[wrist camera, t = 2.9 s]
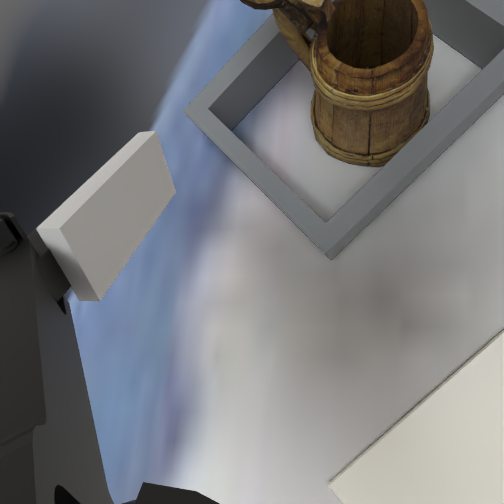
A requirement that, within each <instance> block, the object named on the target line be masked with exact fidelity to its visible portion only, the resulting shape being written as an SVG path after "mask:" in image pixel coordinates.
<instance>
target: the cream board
mask: <svg viewBox="0 0 504 504" xmlns="http://www.w3.org/2000/svg"><path fill="white" fill-rule="evenodd" d="M328 487H329V488H330V489H331V490H332V491H333V493H334V494H335V495H336V496H337V497H338V499H339V500H340V501H341V502H342V504H504V330H503V331H502V332H500V333H499V334H498V335H497V336H496V337H495V338H494V339H492V340H491V341H490V342H489V343H488V344H487V345H486V346H484V347H483V348H482V349H481V350H480V351H479V352H478V353H476V354H475V355H474V356H473V357H472V358H471V359H470V360H468V361H467V362H466V363H465V364H464V365H463V366H462V367H460V368H459V369H458V370H457V371H456V372H455V373H454V374H452V375H451V376H450V377H449V378H448V379H447V380H446V381H444V382H443V383H442V384H441V385H440V386H439V387H438V388H436V389H435V390H434V391H433V392H432V393H431V394H430V395H428V396H427V397H426V398H425V399H424V400H423V401H422V402H420V403H419V404H418V405H417V406H416V407H415V408H414V409H412V410H411V411H410V412H409V413H408V414H407V415H406V416H404V417H403V418H402V419H401V420H400V421H399V422H398V423H396V424H395V425H394V426H393V427H392V428H391V429H390V430H389V431H387V432H386V433H385V434H384V435H383V436H382V437H381V438H379V439H378V440H377V441H376V442H375V443H374V444H373V445H371V446H370V447H369V448H368V449H367V450H366V451H365V452H363V453H362V454H361V455H360V456H359V457H358V458H357V459H355V460H354V461H353V462H352V463H351V464H350V465H349V466H347V467H346V468H345V469H344V470H343V471H342V472H341V473H339V474H338V475H337V476H336V477H335V478H334V479H333V480H331V481H330V482H329V485H328Z"/></svg>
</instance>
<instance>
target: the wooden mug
mask: <svg viewBox="0 0 504 504" xmlns="http://www.w3.org/2000/svg"><path fill="white" fill-rule="evenodd" d="M240 1H241V2H242V3H244V4H246V5H248V6H250V7H252V8H254V9H262V10H267V9H273V14H274V18H275V22H276V24H277V26H278V28H279V30H280V32H281V34H282V36H283V37H284V39H285V40H286V41H287V43H288V44H289V46H290V47H291V48H292V50H293V51H294V52H295V54H296V55H297V56H298V57H299V58H300V60H301V61H302V62H303V63H304V64H305V66H306V67H307V68H308V70H309V71H310V72H311V75H312V79H313V82H314V86H315V88H316V90H315V92H314V95H313V98H312V102H311V120H312V124H313V128H314V133H315V137H316V140H317V141H318V142H319V144H320V145H321V146H322V147H323V149H324V150H325V151H326V152H327V154H328V155H331V156H333V157H335V158H337V159H339V160H341V161H344V162H347V163H349V164H355V165H362V166H375V167H378V166H381V165H385V164H387V163H388V162H389V161H390V160H391V159H392V158H393V157H394V156H395V155H396V154H397V153H398V152H399V151H400V150H401V149H402V148H403V147H404V146H405V145H406V144H407V143H408V142H409V141H410V140H411V139H412V138H413V137H414V136H415V135H416V134H417V133H418V132H419V131H420V130H421V129H422V128H423V127H424V126H425V125H426V124H427V122H428V119H429V115H430V100H429V91H428V88H427V71H428V69H429V67H430V63H431V59H432V55H433V50H434V46H433V36H432V26H431V23H430V20H429V18H428V11H427V8H426V6H425V3H424V1H423V0H334V1H333V2H331V1H330V0H240ZM309 28H310V29H312V30H314V31H315V32H314V35H313V39H311V38H310V37H309V36H308V35H307V34H306V31H307V30H308V29H309Z"/></svg>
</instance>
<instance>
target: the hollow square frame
mask: <svg viewBox="0 0 504 504" xmlns="http://www.w3.org/2000/svg"><path fill="white" fill-rule="evenodd" d="M330 1H331V2H333V1H334V0H330ZM423 1H424V3H425V6H426V8H427V11H428V18H429V20H430V23H431V26H432V33H433V34H434V35H436V36H437V37H439V38H440V39H441V40H443V41H444V42H446V43H447V44H448V45H450V46H451V47H453V48H454V49H455V50H457V51H458V52H460V53H461V54H462V55H464V56H465V57H467V58H468V59H469V60H471V61H472V62H474V63H475V64H476V65H478V66H479V67H481V68H482V69H483V70H482V71H481V72H480V73H478V74H477V75H476V76H475V77H474V78H473V79H472V80H471V81H470V82H469V83H468V84H467V85H466V86H465V87H464V88H463V89H462V90H461V91H460V92H459V93H458V94H457V95H456V96H455V97H454V98H453V99H452V100H451V101H450V102H449V103H448V104H447V105H446V106H445V107H444V108H443V109H442V110H441V111H440V112H439V113H438V114H437V115H436V116H435V117H434V118H433V119H432V120H431V121H429V122H428V123H427V124H426V125H425V126H424V127H423V128H422V129H421V130H420V131H419V132H418V133H417V134H416V135H415V136H414V137H413V138H412V139H411V140H410V141H409V142H408V143H407V144H406V145H405V146H404V147H403V148H402V149H401V150H400V151H399V152H398V153H397V154H396V155H395V156H394V157H393V158H392V159H391V160H390V161H389V162H388V163H387V164H386V165H385V166H384V167H383V168H382V169H381V170H379V171H378V172H377V173H376V174H375V175H374V176H373V177H372V178H371V179H370V180H369V181H368V182H367V183H366V184H365V185H364V186H363V187H362V188H361V189H360V190H359V191H358V192H357V193H356V194H355V195H354V196H353V197H352V198H351V199H350V200H349V201H348V202H347V203H346V204H345V205H344V206H343V207H342V208H341V209H340V210H339V211H338V212H337V213H336V214H335V215H334V216H333V217H332V218H330V219H329V220H328V221H327V222H326V223H325V222H324V221H323V220H322V219H321V218H320V217H319V216H318V215H317V214H316V213H315V212H314V211H313V210H312V209H311V208H310V207H309V206H308V205H307V204H306V203H305V202H304V201H303V200H302V199H301V198H300V197H299V196H297V195H296V194H295V193H294V192H293V191H292V190H291V189H290V188H289V187H288V186H287V185H286V184H285V183H284V182H283V181H282V180H281V179H280V178H279V177H278V176H277V175H276V174H275V173H274V172H273V171H272V170H271V169H270V168H269V167H267V166H266V165H265V164H264V163H263V162H262V161H261V160H260V159H259V158H258V157H257V156H256V155H255V154H254V153H253V152H252V151H251V150H250V149H249V148H248V147H247V146H246V145H245V144H244V143H243V142H242V141H241V140H240V139H239V138H237V137H236V136H235V135H234V134H233V133H232V132H231V131H232V130H233V129H234V128H235V127H236V126H237V125H238V124H239V122H240V121H241V120H242V119H243V118H244V117H245V116H246V115H247V114H248V113H249V112H250V111H251V110H252V109H253V108H254V107H255V106H256V105H257V103H258V102H259V101H260V100H261V99H262V98H263V97H264V96H265V95H266V94H267V93H268V92H269V91H270V90H271V89H272V88H273V87H274V86H275V84H276V83H277V82H278V81H279V80H280V79H281V78H282V77H283V76H284V75H285V74H286V73H287V72H288V71H289V70H290V69H291V68H292V67H293V65H294V64H295V63H296V62H297V61H298V60H299V59H300V58H299V57H298V56H297V55H296V54H295V52H294V51H293V50H292V48H291V47H290V46H289V44H288V43H287V41H286V40H285V39H284V37H283V36H282V34H281V32H280V30H279V28H278V26H277V24H276V22H275V18H274V14H272V15H271V16H270V17H269V18H268V19H267V20H266V21H265V22H264V24H263V25H262V26H261V27H260V28H259V29H258V30H257V31H256V32H255V33H254V34H253V36H252V37H251V38H250V39H249V40H248V41H247V42H246V43H245V44H244V45H243V46H242V47H241V49H240V50H239V51H238V52H237V53H236V54H235V55H234V56H233V57H232V58H231V59H230V60H229V62H228V63H227V64H226V65H225V66H224V67H223V68H222V69H221V70H220V71H219V72H218V73H217V75H216V76H215V77H214V78H213V79H212V80H211V81H210V82H209V83H208V84H207V85H206V87H205V88H204V89H203V90H202V91H201V92H200V93H199V94H198V95H197V96H196V97H195V98H194V100H193V101H192V102H191V103H190V104H189V105H188V106H187V107H186V108H185V109H184V110H183V112H184V113H185V114H186V115H187V116H188V117H189V118H190V119H191V120H192V121H193V122H194V123H195V125H196V126H197V127H198V128H199V129H200V130H201V131H202V132H203V133H204V134H205V135H206V136H207V137H208V138H209V139H210V140H211V141H212V142H213V143H214V144H215V145H216V146H217V147H218V148H219V149H220V150H221V151H222V152H223V153H224V154H225V155H226V156H227V157H228V158H229V159H230V160H231V161H232V162H233V163H234V164H235V165H236V166H237V167H238V168H239V169H240V170H241V171H242V172H243V173H244V174H245V175H246V176H247V177H248V178H249V179H250V180H251V181H252V182H253V183H254V184H255V185H256V186H257V187H258V188H259V189H260V190H261V191H262V192H263V193H264V194H265V195H266V196H267V197H268V198H269V199H270V200H271V201H272V202H273V203H274V204H275V205H276V206H277V207H278V208H279V209H280V210H281V211H282V212H283V213H284V214H285V215H286V216H287V217H288V218H289V219H290V220H291V221H292V222H293V223H294V224H295V225H296V226H297V227H298V228H299V229H300V230H301V231H302V232H303V233H304V234H305V235H306V236H307V237H308V238H309V239H310V240H311V241H312V242H313V243H314V244H315V245H316V246H317V247H318V248H319V249H320V250H321V251H322V252H323V253H324V254H325V255H326V256H327V257H328V258H329V259H330V260H332V259H333V258H334V257H335V256H336V255H337V254H338V253H339V252H340V251H341V250H342V249H343V248H344V247H345V246H347V245H348V244H349V243H350V242H351V241H352V240H353V239H354V238H355V237H356V236H357V235H358V234H359V233H360V232H361V231H362V230H363V229H364V228H365V227H366V226H367V225H368V224H369V223H370V222H371V221H372V220H374V219H375V218H376V217H377V216H378V215H379V214H380V213H381V212H382V211H383V210H384V209H385V208H386V207H387V206H388V205H389V204H390V203H391V202H392V201H393V200H394V199H395V198H396V197H397V196H398V195H399V194H401V193H402V192H403V191H404V190H405V189H406V188H407V187H408V186H409V185H410V184H411V183H412V182H413V181H414V180H415V179H416V178H417V177H418V176H419V175H420V174H421V173H422V172H423V171H424V170H425V169H426V168H428V167H429V166H430V165H431V164H432V163H433V162H434V161H435V160H436V159H437V158H438V157H439V156H440V155H441V154H442V153H443V152H444V151H445V150H446V149H447V148H448V147H449V146H450V145H451V144H452V143H453V142H455V141H456V140H457V139H458V138H459V137H460V136H461V135H462V134H463V133H464V132H465V131H466V130H467V129H468V128H469V127H470V126H471V125H472V124H473V123H474V122H475V121H476V120H477V119H478V118H479V117H480V116H482V115H483V114H484V113H485V112H486V111H487V110H488V109H489V108H490V107H491V106H492V105H493V104H494V103H495V102H496V101H497V100H498V99H499V98H500V97H501V96H502V95H503V94H504V0H423ZM314 32H315V31H314V30H312V29H310V28H309V29H308V30H307V31H306V34H307V35H308V36H309V37H310V38H311V39H313V35H314Z"/></svg>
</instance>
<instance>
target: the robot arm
mask: <svg viewBox="0 0 504 504" xmlns="http://www.w3.org/2000/svg"><path fill="white" fill-rule="evenodd" d="M175 193H176V190H175V187H174V184H173V181H172V178H171V175H170V172H169V169H168V166H167V162H166V159H165V156H164V153H163V150H162V147H161V144H160V141H159V138H158V135H157V132H156V131H149V132H139V133H138V134H137V135H136V136H135V137H134V138H133V139H131V140H130V141H129V142H128V143H127V144H126V145H125V146H124V147H123V148H122V149H121V150H120V151H119V152H118V153H117V154H115V155H114V156H113V157H112V158H111V159H110V160H109V161H108V162H107V163H106V164H105V165H104V166H103V167H101V168H100V169H99V170H98V171H97V172H96V173H95V174H94V175H93V176H92V177H91V178H90V179H89V180H88V181H87V182H85V183H84V184H83V185H82V186H81V187H80V188H79V189H78V190H77V191H76V192H75V193H74V194H73V195H71V196H70V197H69V198H68V199H67V200H66V201H65V202H64V203H63V204H62V205H61V206H60V207H58V208H57V210H55V211H54V212H53V213H52V214H51V215H50V216H49V217H48V218H47V219H46V220H44V221H43V222H42V223H41V224H40V225H39V226H38V227H37V228H36V229H35V230H34V231H33V232H32V233H31V234H30V235H28V236H26V234H25V233H24V231H23V229H22V228H21V226H20V225H19V223H18V221H17V220H16V218H15V216H14V215H13V213H9V212H2V213H0V504H114V503H113V501H112V498H111V496H110V493H109V490H108V487H107V482H106V477H105V473H104V468H103V463H102V458H101V453H100V449H99V444H98V439H97V434H96V430H95V425H94V420H93V415H92V410H91V406H90V401H89V396H88V391H87V386H86V382H85V377H84V372H83V367H82V363H81V358H80V353H79V348H78V343H77V339H76V334H75V329H74V324H73V319H72V315H71V310H70V305H69V303H68V301H67V299H66V298H65V296H64V294H65V293H66V292H67V290H68V289H69V288H70V287H71V288H72V289H73V291H74V293H75V294H76V296H77V298H78V299H79V301H101V299H102V298H103V296H104V295H105V294H106V292H107V291H108V289H109V288H110V286H111V285H112V284H113V282H114V281H115V279H116V278H117V276H118V275H119V273H120V272H121V271H122V269H123V268H124V266H125V265H126V263H127V262H128V261H129V259H130V258H131V256H132V255H133V253H134V252H135V250H136V249H137V248H138V246H139V245H140V243H141V242H142V240H143V239H144V237H145V236H146V235H147V233H148V232H149V230H150V229H151V227H152V226H153V225H154V223H155V222H156V220H157V219H158V217H159V216H160V214H161V213H162V212H163V210H164V209H165V207H166V206H167V204H168V203H169V202H170V200H171V199H172V197H173V196H174V194H175ZM123 504H219V503H217V502H215V501H214V500H212V499H210V498H208V497H206V496H204V495H202V494H200V493H198V492H197V491H191V490H185V489H180V488H174V487H168V486H162V485H156V484H151V483H145V482H143V484H142V487H141V489H140V492H139V494H138V497H137V499H136V500H133V501H130V502H126V503H123Z"/></svg>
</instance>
